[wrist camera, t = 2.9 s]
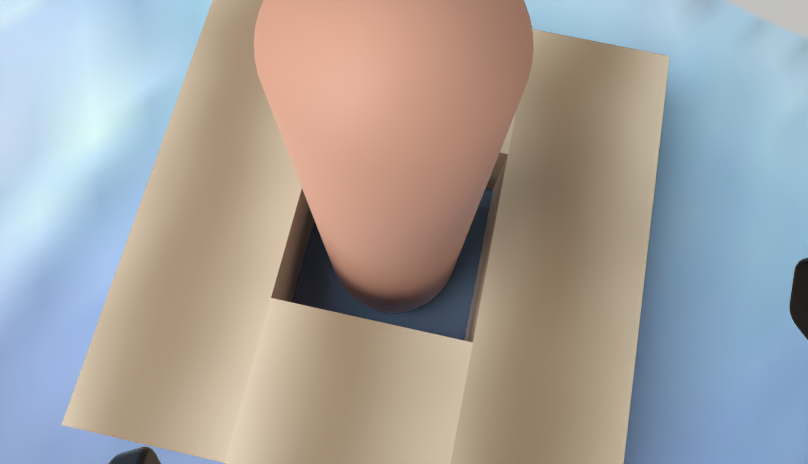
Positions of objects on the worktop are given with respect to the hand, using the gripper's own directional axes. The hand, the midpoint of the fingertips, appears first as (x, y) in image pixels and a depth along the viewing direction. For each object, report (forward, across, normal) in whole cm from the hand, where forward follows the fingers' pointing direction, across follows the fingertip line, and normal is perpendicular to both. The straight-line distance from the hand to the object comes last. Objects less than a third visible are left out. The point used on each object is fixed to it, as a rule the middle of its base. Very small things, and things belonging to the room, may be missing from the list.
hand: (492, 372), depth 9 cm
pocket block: (+11, 0, +5) cm, 12 cm away
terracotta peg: (+11, 0, +5) cm, 12 cm away
